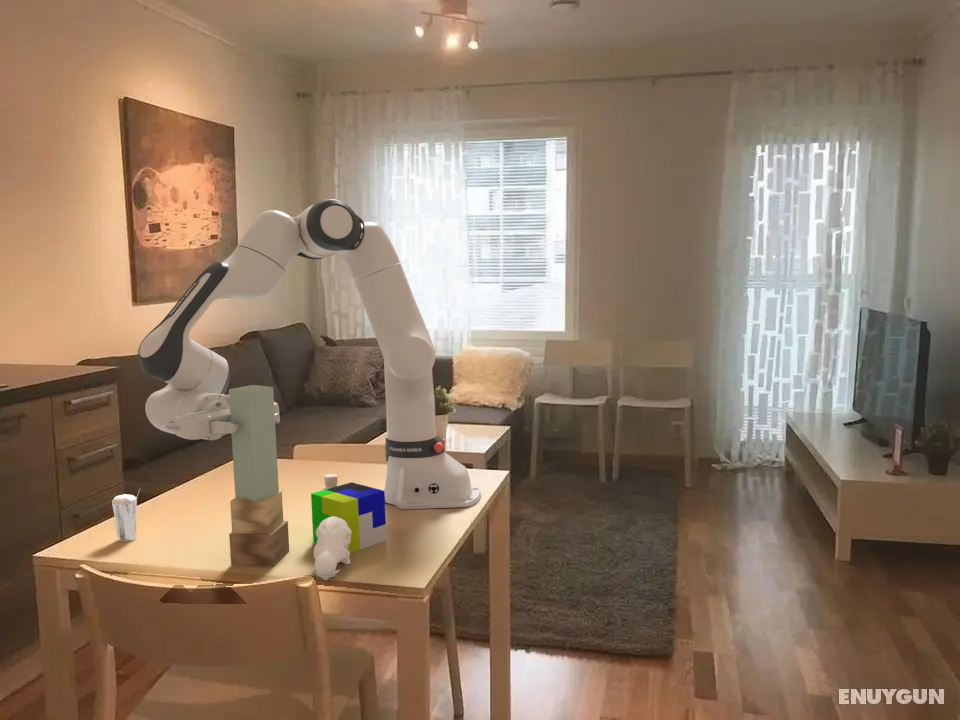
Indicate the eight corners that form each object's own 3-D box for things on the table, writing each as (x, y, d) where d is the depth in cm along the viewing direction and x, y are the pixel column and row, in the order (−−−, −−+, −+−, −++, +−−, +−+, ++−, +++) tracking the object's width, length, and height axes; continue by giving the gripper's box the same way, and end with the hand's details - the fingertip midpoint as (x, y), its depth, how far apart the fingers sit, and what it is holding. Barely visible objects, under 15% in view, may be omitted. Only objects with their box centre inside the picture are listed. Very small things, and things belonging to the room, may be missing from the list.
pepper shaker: (328, 522, 174) (326, 471, 172) (351, 524, 172) (349, 472, 170) (314, 530, 169) (312, 477, 167) (338, 532, 167) (335, 479, 165)
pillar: (259, 489, 156) (253, 384, 153) (278, 494, 153) (273, 387, 150) (235, 497, 151) (228, 389, 149) (255, 501, 148) (248, 391, 146)
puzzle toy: (386, 540, 162) (384, 490, 161) (346, 554, 154) (343, 502, 153) (353, 530, 168) (351, 482, 167) (313, 543, 161) (311, 493, 160)
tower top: (283, 521, 156) (281, 490, 155) (269, 534, 149) (267, 501, 148) (247, 521, 157) (246, 490, 156) (232, 533, 150) (230, 501, 149)
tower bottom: (289, 551, 157) (287, 520, 156) (273, 567, 149) (271, 535, 148) (249, 550, 158) (247, 520, 157) (231, 565, 150) (229, 533, 149)
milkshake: (145, 539, 165) (141, 491, 164) (116, 544, 162) (112, 495, 161) (142, 533, 169) (138, 485, 168) (113, 538, 166) (109, 489, 165)
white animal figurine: (351, 512, 151) (340, 541, 139) (354, 555, 153) (343, 587, 141) (317, 513, 151) (302, 541, 139) (320, 556, 153) (306, 588, 141)
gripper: (158, 408, 149) (207, 416, 141) (249, 392, 166) (297, 397, 158) (161, 443, 150) (209, 452, 142) (251, 423, 166) (299, 430, 158)
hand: (256, 423), depth 150 cm, fingers open, 8 cm apart
